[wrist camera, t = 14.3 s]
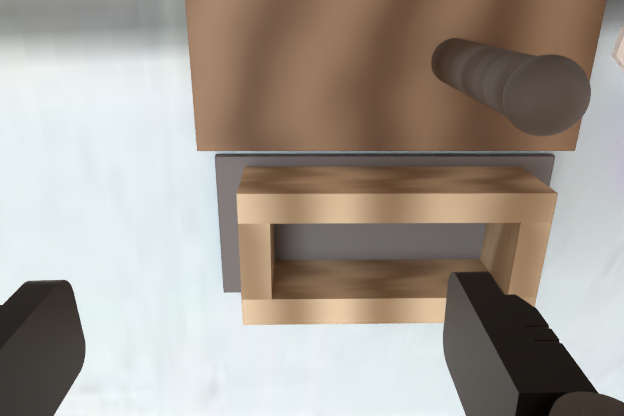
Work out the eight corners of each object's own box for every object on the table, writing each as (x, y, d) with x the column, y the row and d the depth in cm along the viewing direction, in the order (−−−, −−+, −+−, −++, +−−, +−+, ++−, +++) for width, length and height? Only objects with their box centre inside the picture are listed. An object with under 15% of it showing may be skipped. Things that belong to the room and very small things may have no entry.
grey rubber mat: (550, 153, 34) (555, 156, 33) (525, 285, 37) (529, 289, 37) (216, 154, 33) (214, 156, 32) (224, 288, 37) (223, 292, 36)
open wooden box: (521, 166, 33) (557, 193, 29) (501, 281, 36) (531, 321, 32) (244, 166, 33) (236, 194, 28) (249, 283, 36) (242, 324, 31)
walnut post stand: (605, -39, 29) (867, -73, 16) (567, 146, 33) (749, 244, 20) (185, -44, 28) (87, -84, 15) (200, 146, 33) (133, 248, 19)
